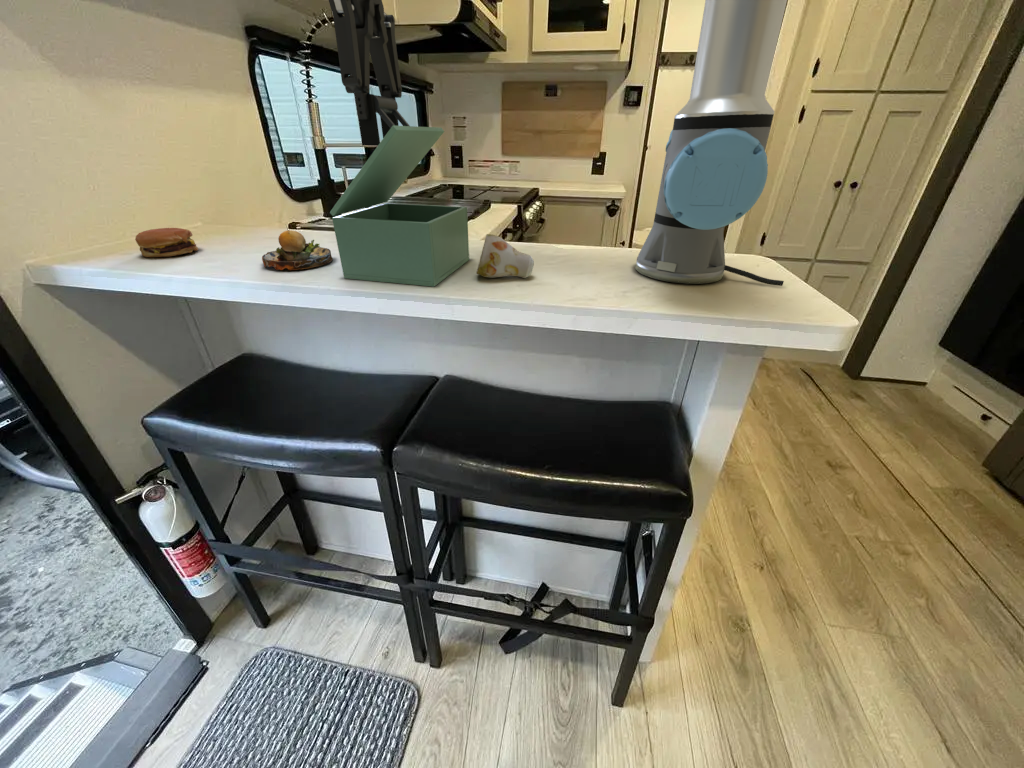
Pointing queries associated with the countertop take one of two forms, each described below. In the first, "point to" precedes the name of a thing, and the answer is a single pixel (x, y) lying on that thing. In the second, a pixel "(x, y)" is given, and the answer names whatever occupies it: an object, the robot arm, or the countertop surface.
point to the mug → (503, 259)
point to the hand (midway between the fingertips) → (382, 144)
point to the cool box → (402, 243)
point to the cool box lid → (387, 161)
